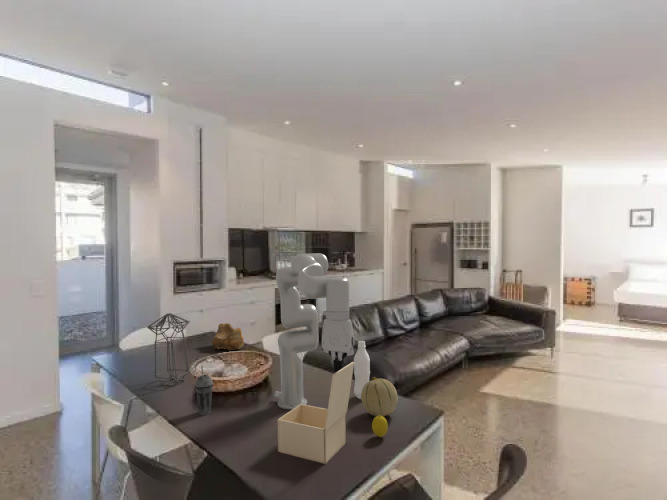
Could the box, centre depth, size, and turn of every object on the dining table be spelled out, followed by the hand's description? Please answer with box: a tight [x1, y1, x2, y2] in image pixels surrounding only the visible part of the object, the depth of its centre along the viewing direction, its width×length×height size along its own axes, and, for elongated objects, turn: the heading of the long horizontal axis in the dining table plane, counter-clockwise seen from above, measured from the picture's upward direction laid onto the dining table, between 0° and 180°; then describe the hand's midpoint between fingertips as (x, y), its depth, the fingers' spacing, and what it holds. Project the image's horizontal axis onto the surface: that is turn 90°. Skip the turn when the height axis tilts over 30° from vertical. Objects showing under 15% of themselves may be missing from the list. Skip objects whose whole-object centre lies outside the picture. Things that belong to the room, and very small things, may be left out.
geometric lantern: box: [147, 312, 191, 385], centre depth 219 cm, size 16×16×35 cm
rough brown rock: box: [211, 322, 245, 351], centre depth 284 cm, size 23×17×15 cm
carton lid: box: [325, 361, 354, 429], centre depth 145 cm, size 18×15×1 cm
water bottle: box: [353, 340, 371, 400], centre depth 196 cm, size 7×7×25 cm
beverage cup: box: [194, 365, 214, 416], centre depth 181 cm, size 7×7×20 cm
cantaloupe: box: [360, 376, 399, 417], centre depth 176 cm, size 15×15×15 cm
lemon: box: [371, 415, 389, 438], centre depth 157 cm, size 6×6×8 cm
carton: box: [276, 404, 347, 465], centre depth 150 cm, size 18×15×11 cm
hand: (338, 371), depth 144 cm, fingers closed
